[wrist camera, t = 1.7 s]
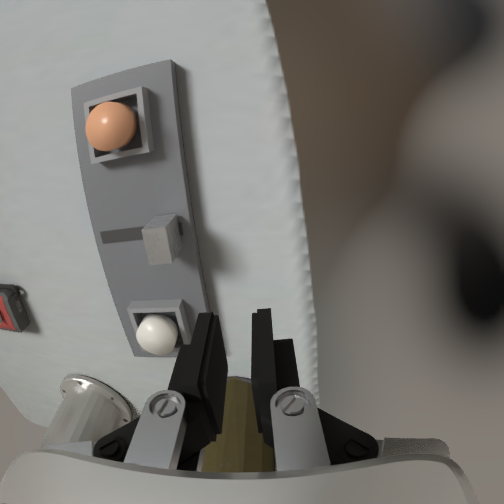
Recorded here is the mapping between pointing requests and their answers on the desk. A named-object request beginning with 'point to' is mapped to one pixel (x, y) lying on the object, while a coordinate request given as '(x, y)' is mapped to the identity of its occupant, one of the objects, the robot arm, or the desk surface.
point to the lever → (162, 239)
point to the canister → (239, 435)
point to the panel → (142, 201)
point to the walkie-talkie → (12, 309)
